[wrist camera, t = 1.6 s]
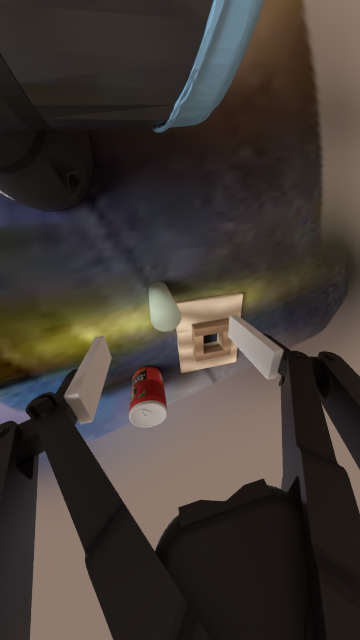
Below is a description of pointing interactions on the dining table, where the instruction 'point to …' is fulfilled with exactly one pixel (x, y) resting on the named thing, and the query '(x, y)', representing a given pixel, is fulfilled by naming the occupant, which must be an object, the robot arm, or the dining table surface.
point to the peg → (163, 307)
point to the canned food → (147, 398)
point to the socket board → (204, 315)
